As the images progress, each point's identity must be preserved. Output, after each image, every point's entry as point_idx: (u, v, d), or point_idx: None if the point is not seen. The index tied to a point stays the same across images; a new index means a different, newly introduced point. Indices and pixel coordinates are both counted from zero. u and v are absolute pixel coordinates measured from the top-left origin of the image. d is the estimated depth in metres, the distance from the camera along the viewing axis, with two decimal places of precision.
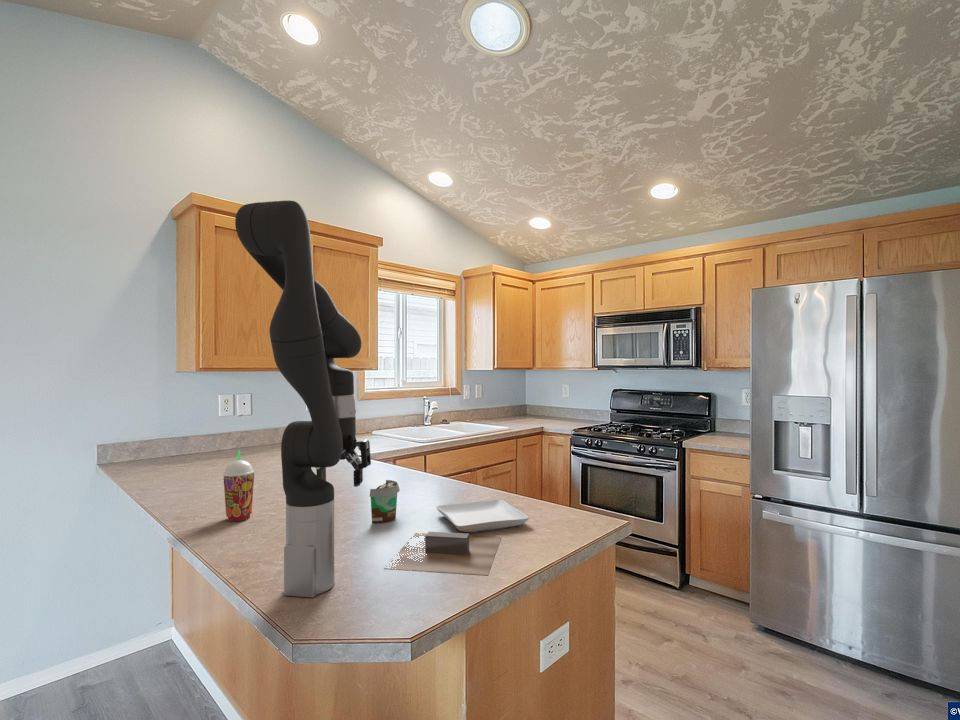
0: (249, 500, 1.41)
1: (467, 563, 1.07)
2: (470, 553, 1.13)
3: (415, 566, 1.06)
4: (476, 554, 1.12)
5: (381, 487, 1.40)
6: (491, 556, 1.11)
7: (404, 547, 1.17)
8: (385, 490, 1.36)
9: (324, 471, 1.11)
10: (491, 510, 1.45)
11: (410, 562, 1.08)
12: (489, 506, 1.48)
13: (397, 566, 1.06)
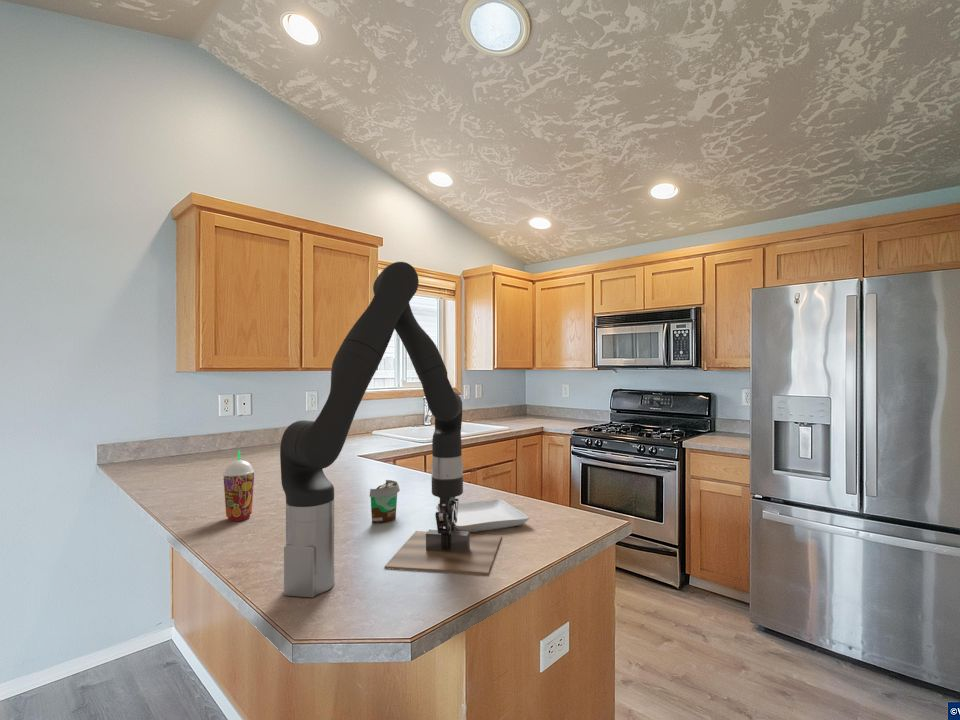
0: (249, 500, 1.41)
1: (467, 561, 1.08)
2: (470, 551, 1.13)
3: (416, 564, 1.06)
4: (477, 552, 1.12)
5: (381, 487, 1.40)
6: (491, 554, 1.11)
7: (404, 545, 1.17)
8: (385, 490, 1.36)
9: None
10: (491, 510, 1.45)
11: (411, 560, 1.08)
12: (489, 506, 1.48)
13: (398, 564, 1.06)
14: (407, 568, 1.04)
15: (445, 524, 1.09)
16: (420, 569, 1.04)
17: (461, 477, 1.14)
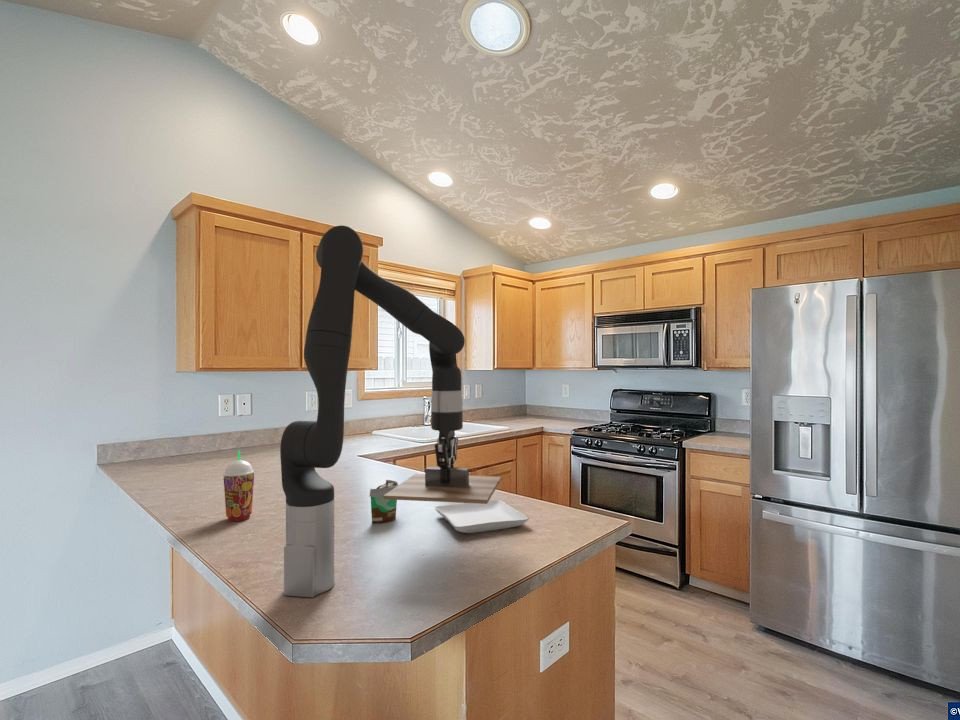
0: (249, 500, 1.41)
1: (466, 492, 1.07)
2: (469, 486, 1.13)
3: (414, 494, 1.06)
4: (476, 487, 1.12)
5: (381, 487, 1.40)
6: (491, 488, 1.11)
7: (404, 482, 1.17)
8: (385, 490, 1.36)
9: None
10: (490, 511, 1.44)
11: (409, 491, 1.08)
12: (488, 507, 1.47)
13: (396, 494, 1.06)
14: (406, 497, 1.04)
15: (444, 456, 1.09)
16: (419, 498, 1.04)
17: (461, 412, 1.14)
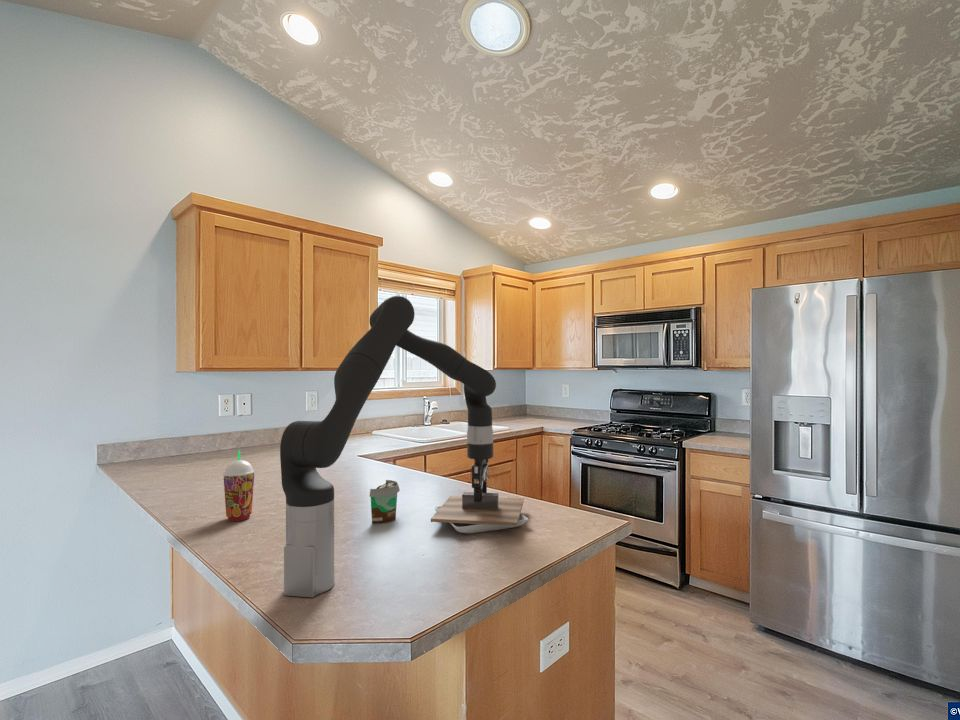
0: (249, 500, 1.41)
1: (498, 515, 1.30)
2: (499, 509, 1.36)
3: (456, 517, 1.29)
4: (505, 510, 1.35)
5: (381, 487, 1.40)
6: (517, 511, 1.34)
7: (443, 505, 1.40)
8: (385, 490, 1.36)
9: None
10: None
11: (451, 515, 1.31)
12: None
13: (441, 517, 1.29)
14: (449, 520, 1.27)
15: (479, 476, 1.31)
16: (460, 521, 1.26)
17: (492, 443, 1.36)
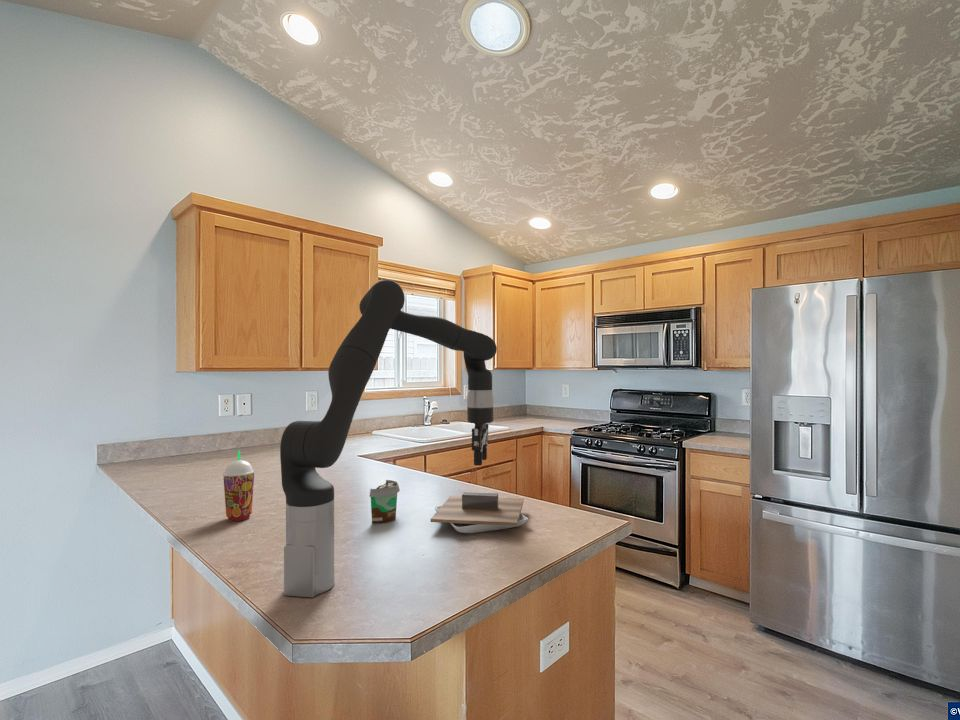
0: (249, 500, 1.41)
1: (498, 515, 1.30)
2: (499, 509, 1.36)
3: (456, 517, 1.29)
4: (505, 510, 1.35)
5: (381, 487, 1.40)
6: (517, 511, 1.34)
7: (443, 505, 1.40)
8: (385, 490, 1.36)
9: None
10: None
11: (451, 515, 1.31)
12: None
13: (441, 517, 1.29)
14: (449, 520, 1.27)
15: (479, 438, 1.31)
16: (460, 521, 1.26)
17: (492, 407, 1.37)
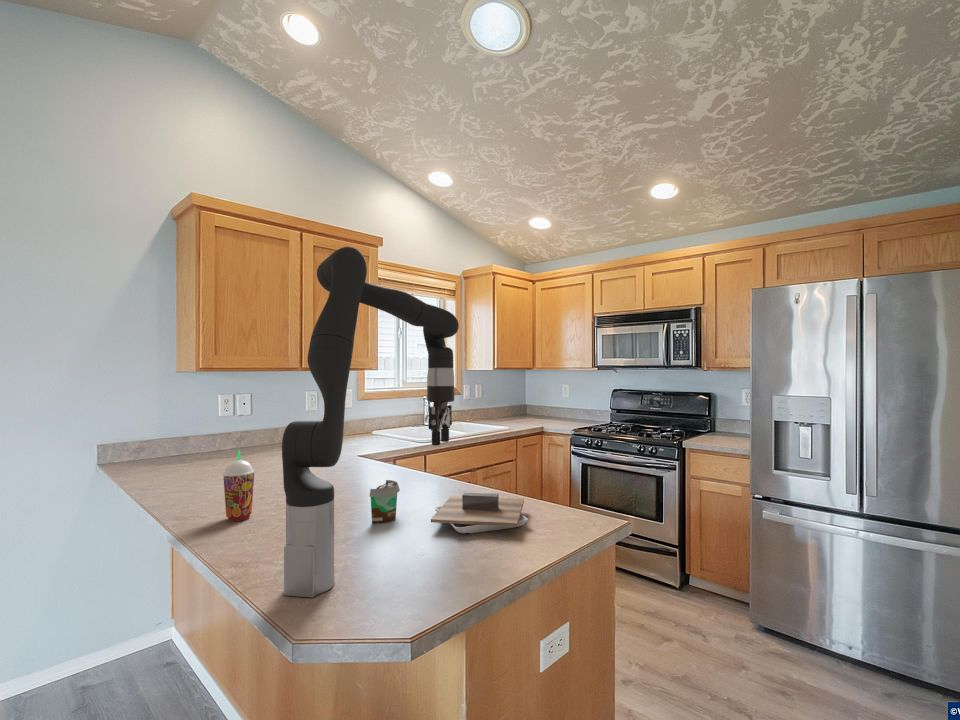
0: (249, 500, 1.41)
1: (498, 516, 1.30)
2: (499, 509, 1.36)
3: (456, 518, 1.29)
4: (505, 510, 1.35)
5: (381, 487, 1.40)
6: (517, 511, 1.34)
7: (443, 506, 1.40)
8: (385, 490, 1.36)
9: None
10: None
11: (451, 515, 1.31)
12: None
13: (441, 518, 1.29)
14: (449, 520, 1.27)
15: (436, 417, 1.26)
16: (460, 521, 1.26)
17: (452, 386, 1.32)
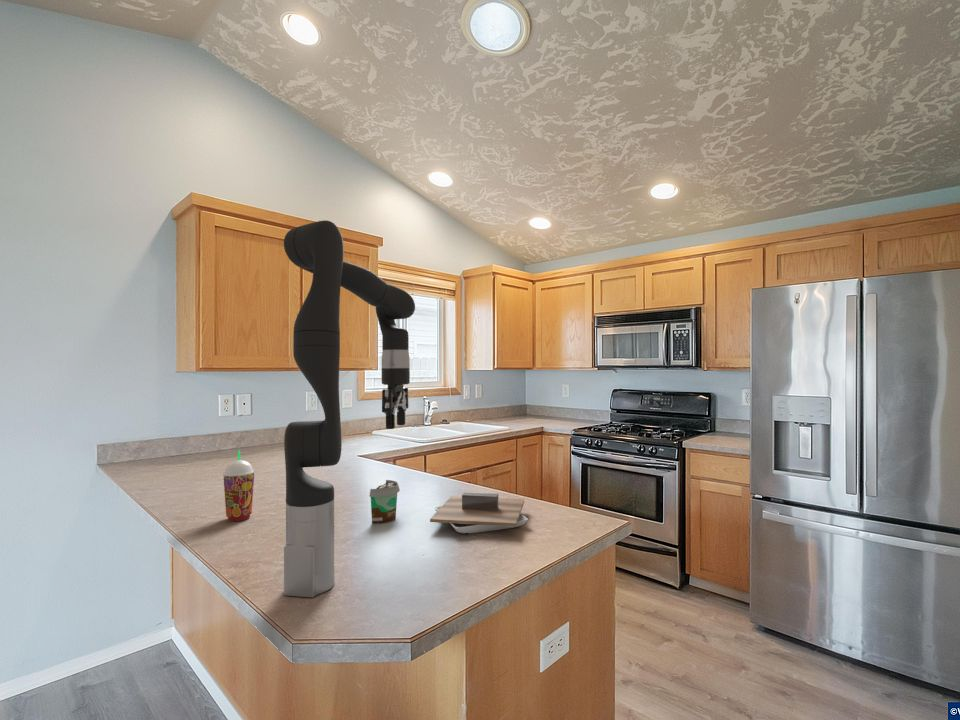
0: (249, 500, 1.41)
1: (498, 516, 1.30)
2: (499, 509, 1.36)
3: (455, 517, 1.29)
4: (505, 510, 1.35)
5: (381, 487, 1.40)
6: (517, 511, 1.34)
7: (443, 505, 1.40)
8: (385, 490, 1.36)
9: None
10: None
11: (450, 515, 1.31)
12: None
13: (440, 517, 1.29)
14: (449, 520, 1.27)
15: (389, 400, 1.23)
16: (459, 521, 1.26)
17: (407, 368, 1.29)
